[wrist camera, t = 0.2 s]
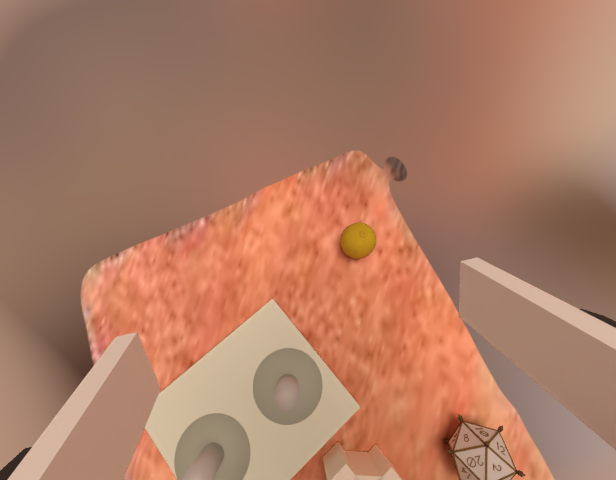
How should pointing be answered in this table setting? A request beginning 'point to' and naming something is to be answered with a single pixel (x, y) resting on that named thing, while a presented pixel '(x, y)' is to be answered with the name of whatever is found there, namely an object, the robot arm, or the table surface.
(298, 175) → the table surface
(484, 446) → the game die
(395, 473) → the cream gear
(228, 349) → the board
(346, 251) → the lemon
